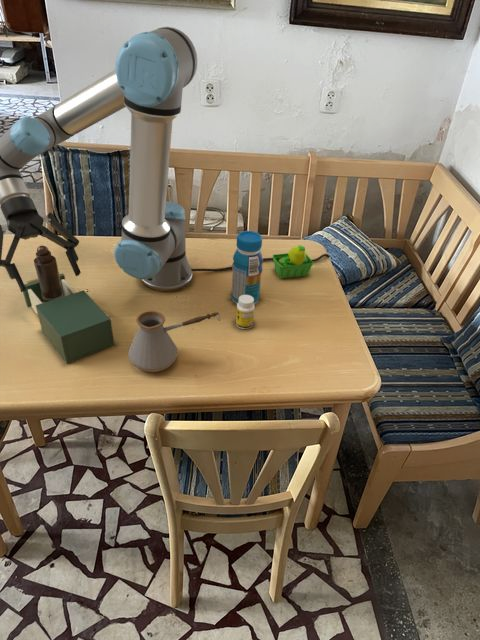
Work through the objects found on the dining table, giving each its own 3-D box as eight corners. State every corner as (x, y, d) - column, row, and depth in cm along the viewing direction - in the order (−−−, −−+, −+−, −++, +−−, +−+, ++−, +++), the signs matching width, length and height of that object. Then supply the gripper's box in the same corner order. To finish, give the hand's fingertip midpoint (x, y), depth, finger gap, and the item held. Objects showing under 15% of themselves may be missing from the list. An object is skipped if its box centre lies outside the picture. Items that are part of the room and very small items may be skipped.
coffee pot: (126, 377, 112) (119, 326, 102) (132, 345, 121) (126, 295, 111) (218, 378, 115) (221, 328, 105) (218, 347, 123) (220, 298, 114)
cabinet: (42, 331, 122) (35, 305, 117) (88, 315, 128) (83, 290, 123) (66, 363, 114) (60, 336, 109) (114, 345, 120) (110, 319, 115)
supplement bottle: (235, 318, 133) (236, 293, 128) (252, 319, 134) (254, 293, 128) (235, 329, 129) (237, 303, 124) (253, 330, 130) (256, 304, 125)
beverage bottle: (226, 303, 138) (229, 240, 125) (234, 288, 145) (238, 226, 132) (255, 309, 137) (261, 246, 124) (262, 294, 144) (268, 232, 131)
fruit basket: (302, 265, 159) (307, 233, 151) (313, 279, 152) (319, 247, 145) (269, 268, 155) (273, 236, 148) (280, 283, 149) (284, 250, 142)
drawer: (20, 298, 130) (14, 277, 126) (60, 286, 136) (56, 266, 132) (46, 331, 121) (41, 311, 117) (88, 317, 127) (85, 297, 122)
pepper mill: (67, 301, 129) (54, 240, 118) (64, 312, 125) (51, 251, 114) (46, 301, 128) (32, 241, 117) (43, 313, 124) (28, 251, 113)
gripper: (62, 198, 129) (96, 272, 130) (-41, 218, 115) (-3, 301, 117) (68, 185, 122) (102, 263, 124) (-41, 205, 109) (-1, 293, 110)
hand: (51, 282), depth 120 cm, fingers open, 13 cm apart
